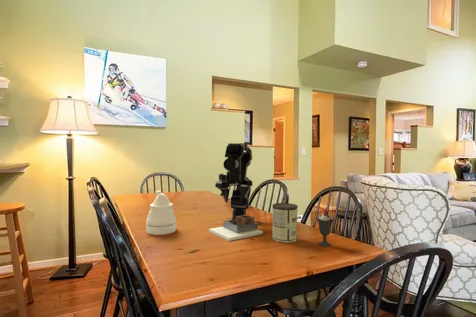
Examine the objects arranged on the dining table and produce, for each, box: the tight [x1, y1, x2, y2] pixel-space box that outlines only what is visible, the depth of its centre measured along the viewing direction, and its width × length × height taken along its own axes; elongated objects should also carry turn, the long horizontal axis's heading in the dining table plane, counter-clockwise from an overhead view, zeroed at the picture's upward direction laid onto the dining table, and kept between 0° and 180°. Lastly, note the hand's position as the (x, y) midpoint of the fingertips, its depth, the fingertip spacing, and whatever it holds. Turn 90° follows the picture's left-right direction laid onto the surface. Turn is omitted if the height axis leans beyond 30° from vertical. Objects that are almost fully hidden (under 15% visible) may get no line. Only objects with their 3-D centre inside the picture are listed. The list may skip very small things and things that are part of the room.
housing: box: [222, 219, 259, 233], centre depth 125 cm, size 11×11×3 cm
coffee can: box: [271, 202, 299, 244], centre depth 115 cm, size 10×10×14 cm
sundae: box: [316, 206, 335, 248], centre depth 108 cm, size 7×7×15 cm
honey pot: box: [145, 190, 177, 236], centre depth 124 cm, size 13×13×18 cm
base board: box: [208, 226, 264, 242], centre depth 123 cm, size 18×16×4 cm
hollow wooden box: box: [236, 214, 256, 225], centre depth 127 cm, size 6×6×5 cm
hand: (234, 201), depth 134 cm, fingers open, 9 cm apart
